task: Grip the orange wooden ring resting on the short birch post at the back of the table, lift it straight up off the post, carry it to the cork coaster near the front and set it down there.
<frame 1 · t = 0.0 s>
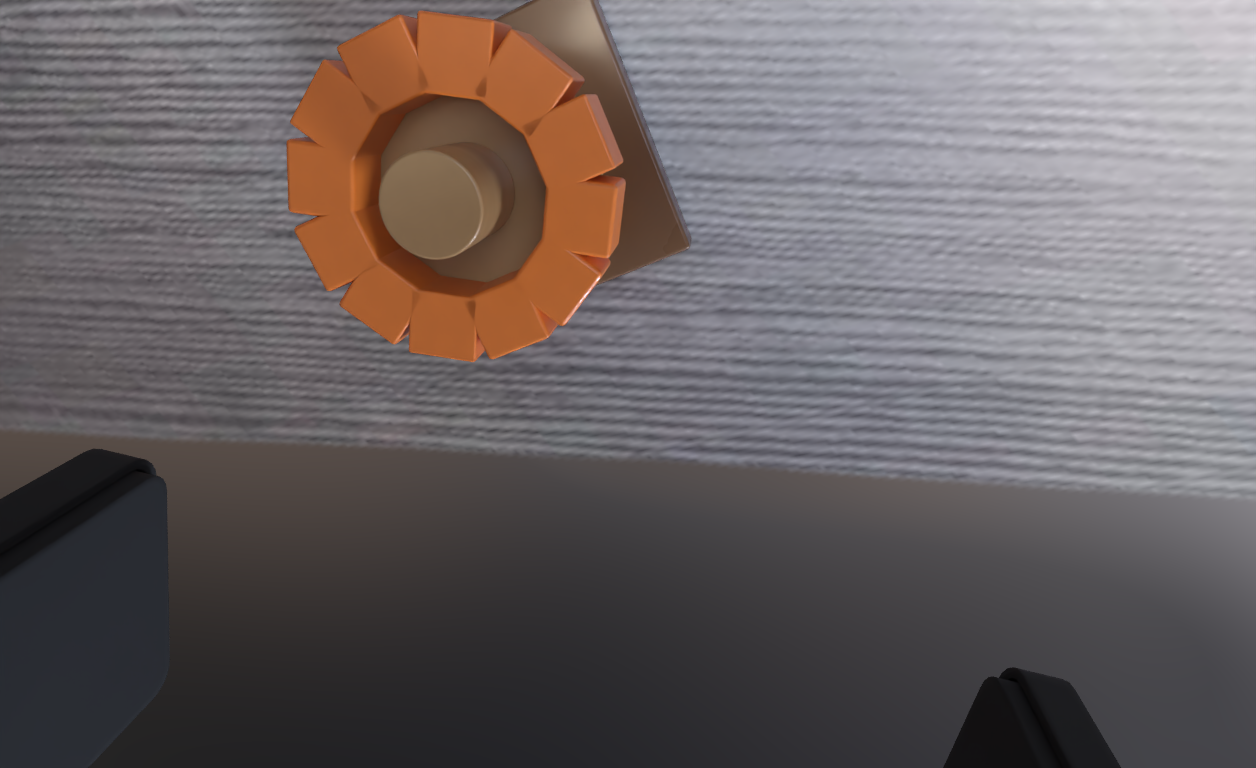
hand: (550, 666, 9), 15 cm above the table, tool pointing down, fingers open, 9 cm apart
post: (526, 169, 22), on the table
ring: (469, 191, 17), point 5 cm above the table, touching post
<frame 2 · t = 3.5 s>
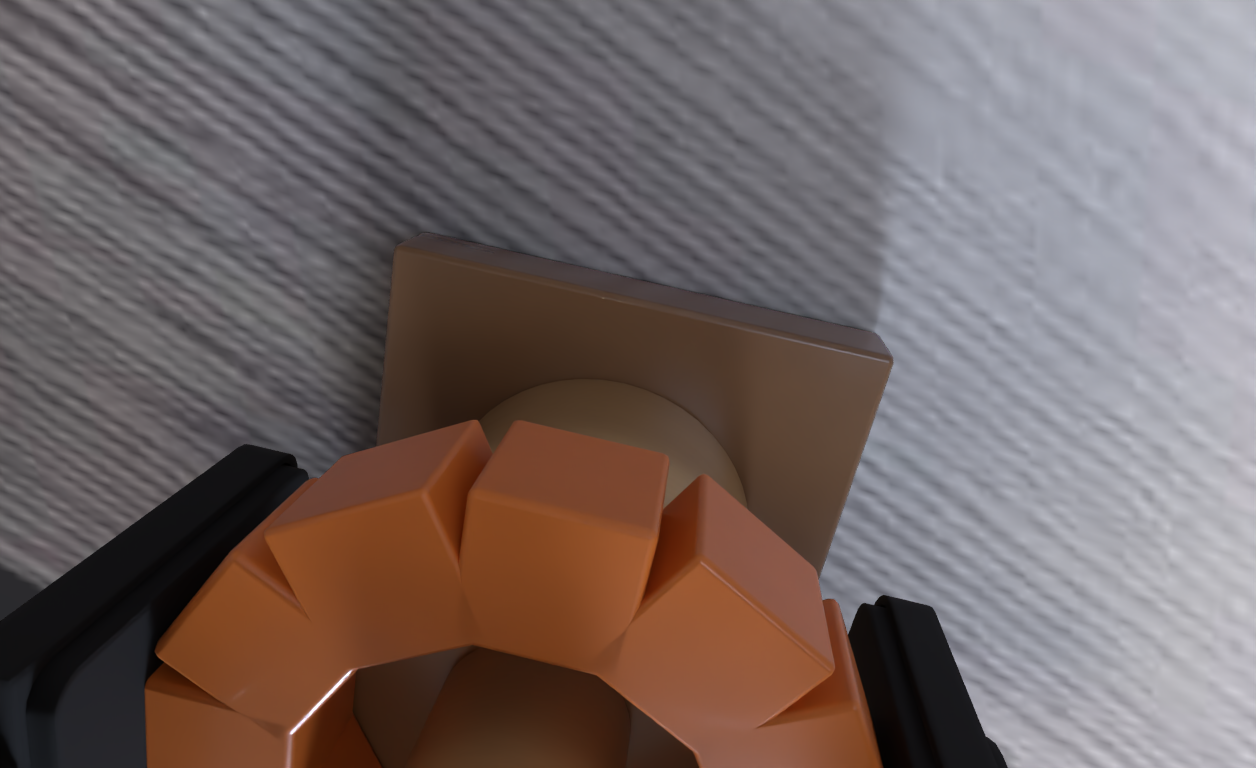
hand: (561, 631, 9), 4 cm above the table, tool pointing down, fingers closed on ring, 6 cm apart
post: (605, 483, 13), on the table
ring: (535, 716, 8), point 5 cm above the table, touching gripper, post
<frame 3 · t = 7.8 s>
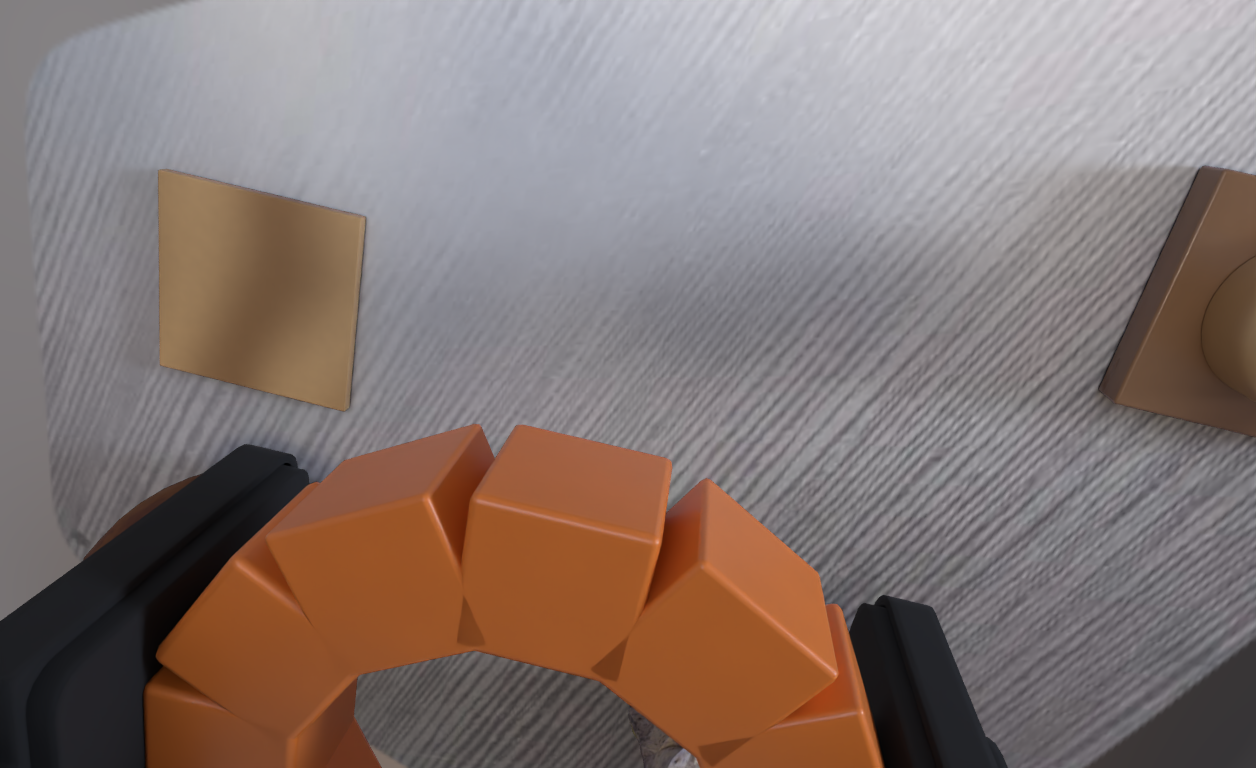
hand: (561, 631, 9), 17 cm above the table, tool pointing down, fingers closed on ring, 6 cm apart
rock: (740, 679, 30), on the table
ring: (537, 720, 8), point 19 cm above the table, touching gripper
coaster: (261, 293, 27), on the table
wooden figurine: (289, 511, 31), on the table
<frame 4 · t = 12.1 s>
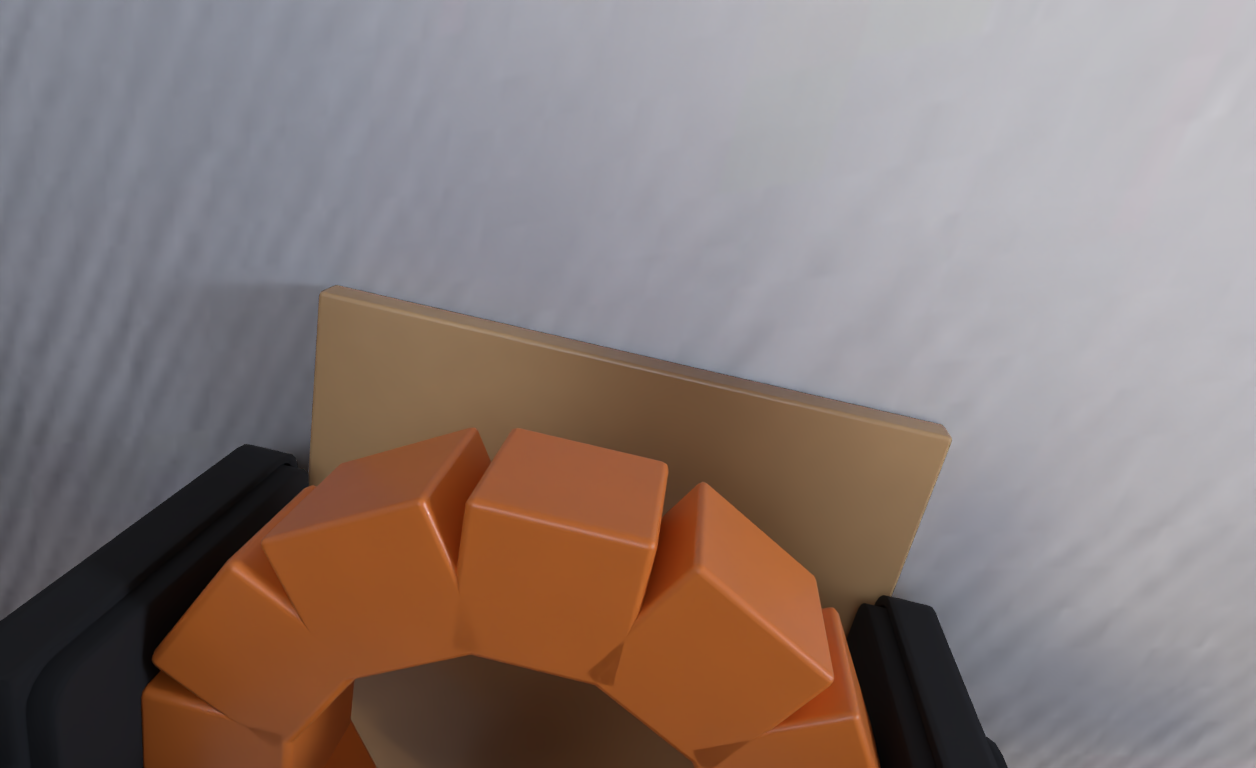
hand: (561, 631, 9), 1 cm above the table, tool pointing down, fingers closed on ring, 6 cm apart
ring: (533, 724, 8), point 2 cm above the table, touching gripper
coaster: (579, 606, 10), on the table
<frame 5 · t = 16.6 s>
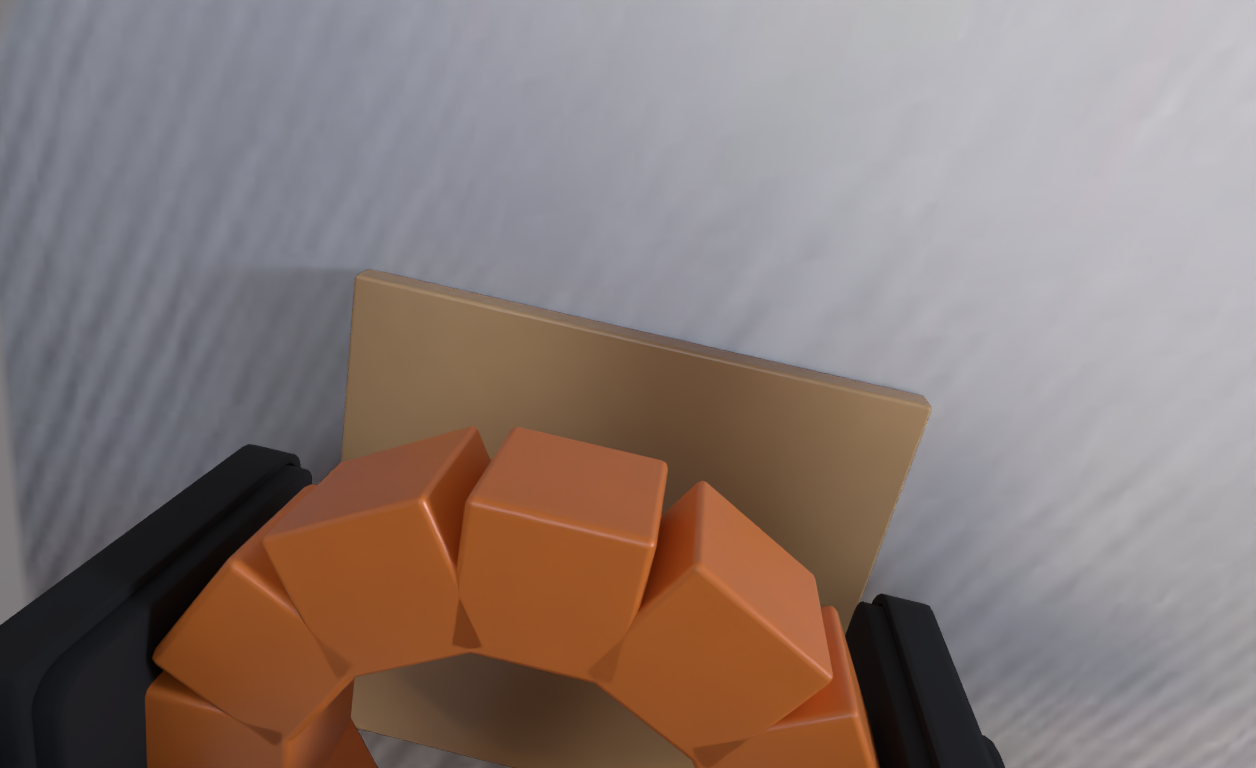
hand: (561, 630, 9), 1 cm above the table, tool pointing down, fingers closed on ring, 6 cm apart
ring: (533, 722, 8), point 3 cm above the table, touching gripper
coaster: (591, 567, 11), on the table
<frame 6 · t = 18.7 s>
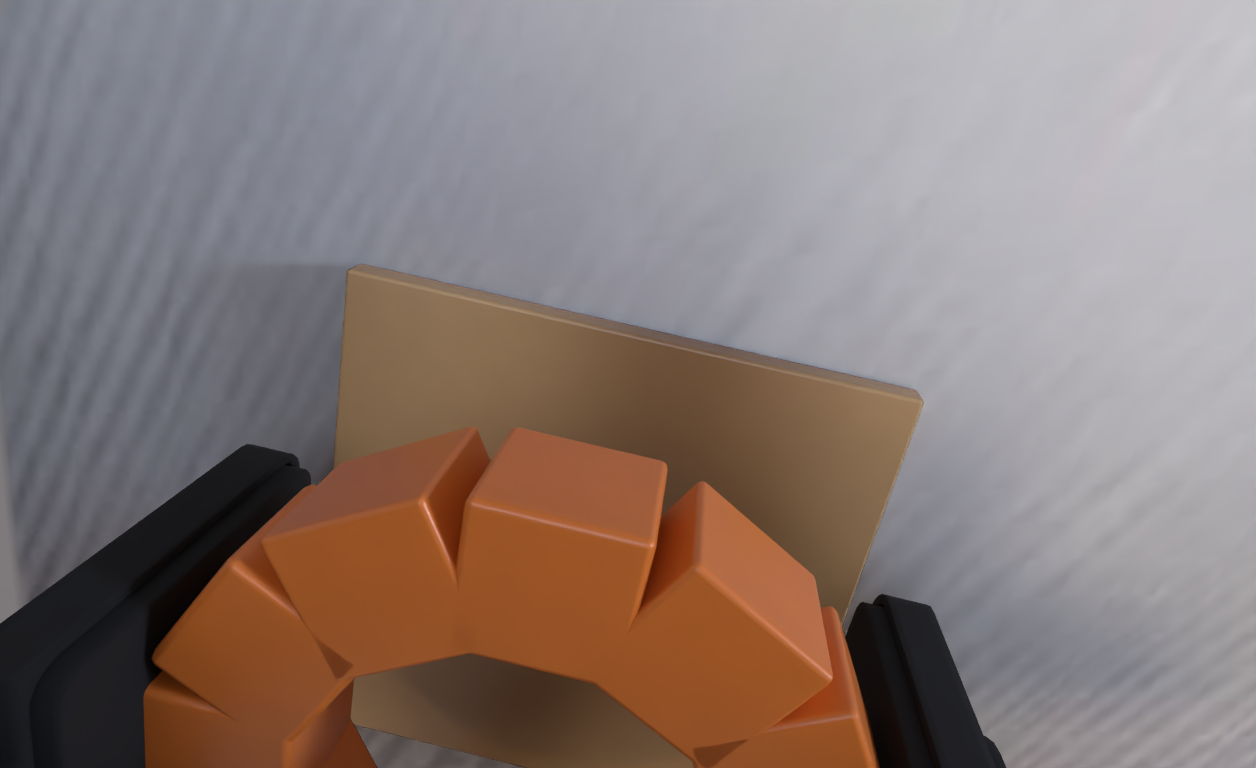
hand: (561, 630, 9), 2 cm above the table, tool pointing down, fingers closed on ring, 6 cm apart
ring: (533, 723, 8), point 3 cm above the table, touching gripper
coaster: (584, 562, 11), on the table
when the fingers open (1 cm above the table, at t = 20.7 s): ring drops 2 cm, resting on coaster.
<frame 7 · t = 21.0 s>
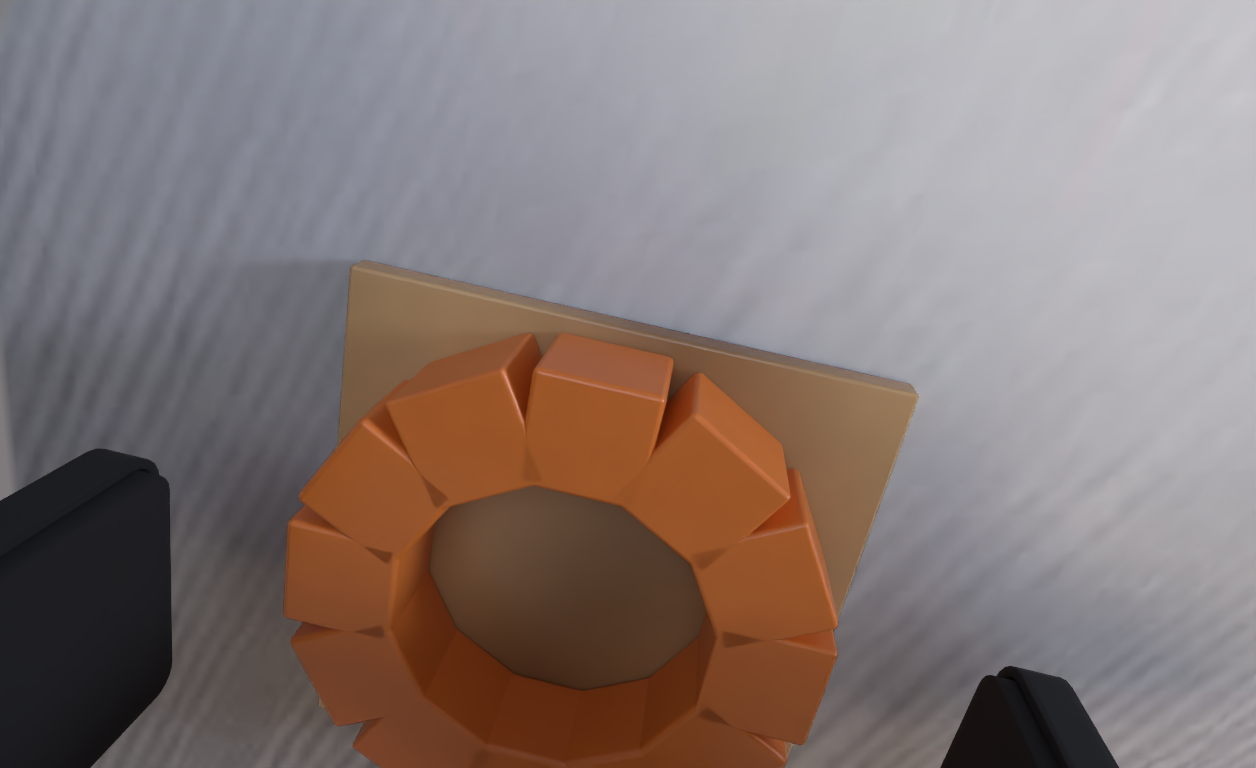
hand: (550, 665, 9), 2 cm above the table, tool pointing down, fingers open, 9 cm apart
ring: (570, 569, 11), resting on coaster
coaster: (584, 555, 11), on the table
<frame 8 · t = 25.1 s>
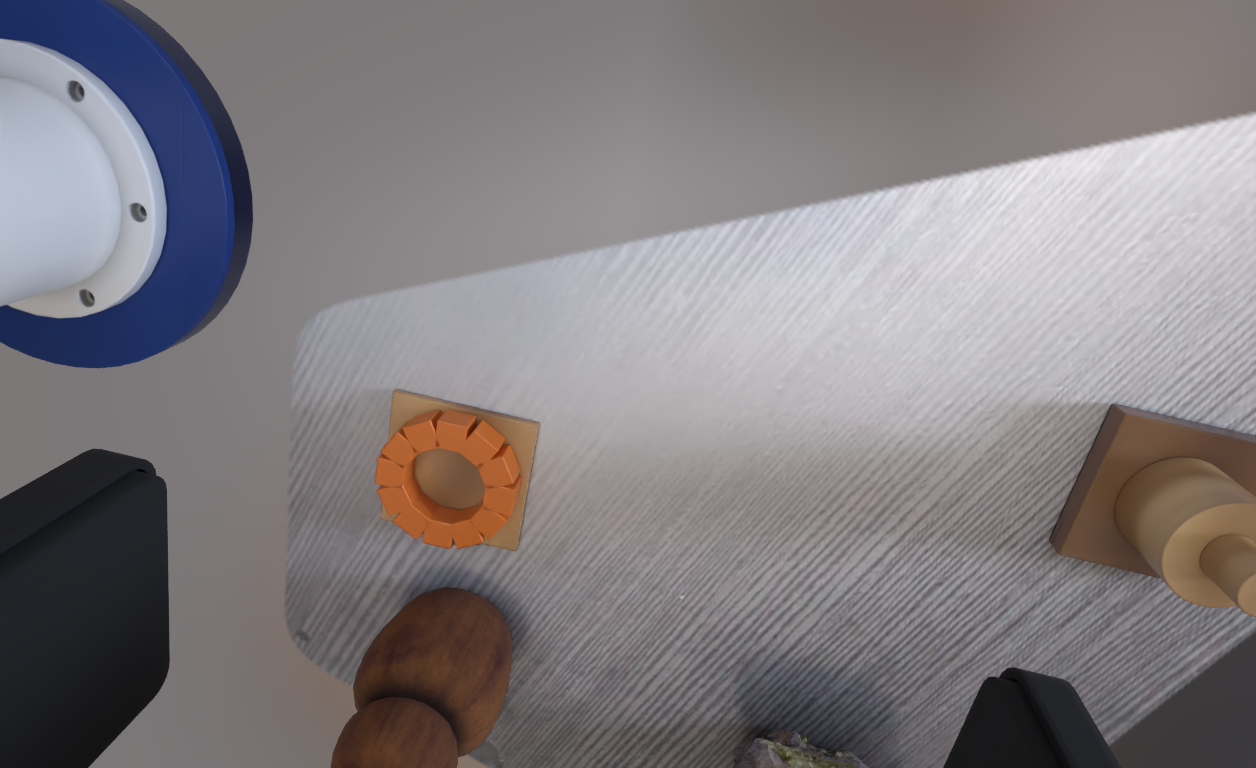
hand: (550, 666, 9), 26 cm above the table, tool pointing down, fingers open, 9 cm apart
post: (1157, 492, 35), on the table
rock: (797, 733, 42), on the table
ring: (453, 473, 38), resting on coaster
coaster: (458, 470, 38), on the table
wooden figurine: (465, 617, 42), on the table
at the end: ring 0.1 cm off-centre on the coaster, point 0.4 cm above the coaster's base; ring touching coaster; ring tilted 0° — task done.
